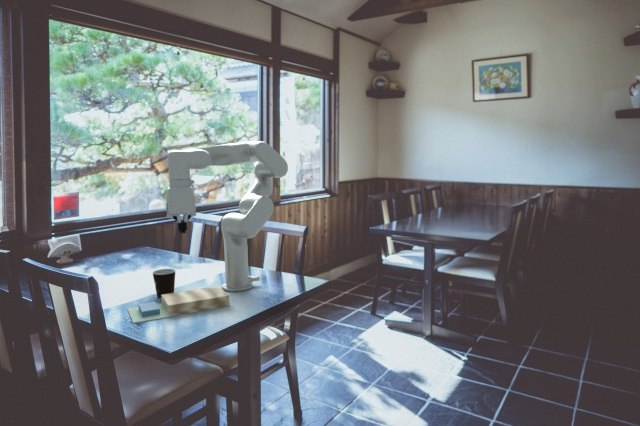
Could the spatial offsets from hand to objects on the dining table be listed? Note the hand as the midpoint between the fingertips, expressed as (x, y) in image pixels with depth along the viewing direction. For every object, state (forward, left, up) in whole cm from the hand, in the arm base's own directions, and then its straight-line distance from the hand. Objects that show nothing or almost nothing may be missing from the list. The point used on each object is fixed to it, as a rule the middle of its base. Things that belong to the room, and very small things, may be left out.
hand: (182, 232), depth 183 cm
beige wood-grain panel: (-2, +6, -27) cm, 28 cm away
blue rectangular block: (+14, +6, -25) cm, 29 cm away
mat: (+15, +6, -27) cm, 32 cm away
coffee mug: (+5, -13, -27) cm, 31 cm away
